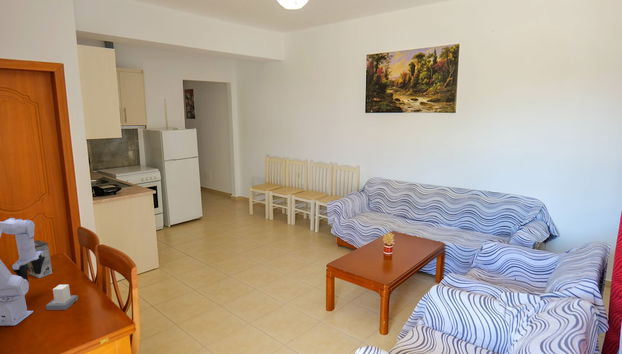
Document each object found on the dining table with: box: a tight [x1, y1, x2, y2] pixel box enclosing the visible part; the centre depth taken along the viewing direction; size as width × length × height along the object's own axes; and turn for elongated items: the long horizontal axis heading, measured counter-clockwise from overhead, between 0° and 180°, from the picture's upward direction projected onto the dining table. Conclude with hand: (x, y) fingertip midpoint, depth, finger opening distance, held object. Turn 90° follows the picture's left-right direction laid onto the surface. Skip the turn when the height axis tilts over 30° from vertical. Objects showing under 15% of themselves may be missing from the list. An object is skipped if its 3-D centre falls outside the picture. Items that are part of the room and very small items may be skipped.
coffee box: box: [28, 239, 53, 279], centre depth 181 cm, size 9×6×16 cm
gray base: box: [45, 294, 79, 311], centre depth 155 cm, size 8×8×2 cm
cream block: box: [52, 284, 71, 303], centre depth 154 cm, size 4×4×6 cm
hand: (31, 277), depth 157 cm, fingers open, 7 cm apart
